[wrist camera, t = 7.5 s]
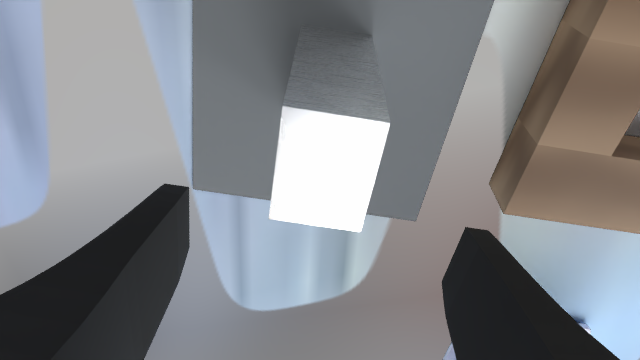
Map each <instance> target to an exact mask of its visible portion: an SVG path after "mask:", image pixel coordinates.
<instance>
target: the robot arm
mask: <svg viewBox="0 0 640 360" xmlns="http://www.w3.org/2000/svg"><path fill="white" fill-rule="evenodd" d="M188 250H189V187H184V186H177V185H170V184H164V185H162V186H161V187H159V188H158V189H157V190H156V191H154V192H153V193H152V194H151V195H150V196H148V197H147V198H146V199H145V200H144V201H142V202H141V203H140V204H139V205H138V206H136V207H135V208H134V209H133V210H132V211H130V212H129V213H128V214H126V215H125V216H124V217H122V218H121V219H120V220H119V221H117V222H116V223H115V224H113V225H112V226H111V227H109V228H108V229H107V230H106V231H104V232H103V233H102V234H100V235H99V236H97V237H96V238H95V239H93V240H92V241H90V242H89V243H87V244H86V245H84V246H83V247H82V248H80V249H79V250H77V251H76V252H75V253H73V254H71V255H70V256H69V257H67V258H65V259H64V260H62V261H61V262H59V263H57V264H56V265H54V266H53V267H51V268H49V269H48V270H46V271H44V272H42V273H41V274H39V275H37V276H35V277H34V278H32V279H30V280H28V281H26V282H25V283H23V284H21V285H19V286H17V287H15V288H13V289H11V290H9V291H7V292H5V293H3V294H1V295H0V360H144V358H145V356H146V354H147V351H148V349H149V347H150V345H151V343H152V340H153V338H154V336H155V334H156V331H157V329H158V327H159V325H160V322H161V320H162V318H163V316H164V314H165V311H166V309H167V307H168V305H169V303H170V300H171V298H172V296H173V294H174V291H175V289H176V287H177V285H178V282H179V279H180V276H181V273H182V270H183V267H184V263H185V260H186V257H187V253H188ZM442 289H443V299H444V307H445V314H446V319H447V324H448V328H449V332H450V337H451V341H452V342H451V344H450V346H449V348H448V350H447V352H446V354H445V356H444V358H443V360H620V359H619V358H617V357H616V356H615V355H614V354H613V353H611V352H610V351H609V350H608V349H607V348H606V347H604V346H603V345H602V344H601V343H600V342H598V341H597V340H596V339H595V338H594V337H593V336H591V335H590V333H591V330H590V328H589V326H588V325H586V324H582V323H577V322H576V321H575V320H574V319H573V318H572V317H571V316H570V315H569V314H568V313H567V312H566V311H565V310H564V309H563V308H562V307H561V306H560V305H559V304H558V303H557V302H556V301H555V300H554V299H553V298H552V297H551V296H550V295H549V294H548V293H547V292H546V291H545V290H544V289H543V288H542V287H541V286H540V285H539V284H538V283H537V282H536V281H535V280H534V279H533V278H532V277H531V276H530V274H529V273H528V272H527V271H526V270H525V269H524V268H523V267H522V266H521V265H520V264H519V263H518V261H517V260H516V259H515V258H514V257H513V256H512V255H511V254H510V253H509V252H508V251H507V249H506V248H505V247H504V246H503V245H502V244H501V243H500V242H499V241H498V240H497V239H496V238H495V237H494V236H493V235H492V234H491V233H490V232H489V231H487V230H481V229H474V228H468V227H467V228H466V227H465V230H464V232H463V234H462V237H461V239H460V241H459V243H458V246H457V248H456V250H455V253H454V255H453V257H452V259H451V262H450V264H449V266H448V269H447V271H446V273H445V276H444V278H443V280H442Z"/></svg>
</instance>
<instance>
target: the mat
mask: <svg viewBox="0 0 640 360" xmlns="http://www.w3.org/2000/svg"><path fill="white" fill-rule="evenodd" d="M493 2H494V0H193V189H195V190H202V191H209V192H216V193H223V194H230V195H237V196H244V197H251V198H258V199H265V200H271V196H272V188H273V180H274V172H275V164H276V155H277V147H278V139H279V131H280V123H281V114H282V106H283V102H284V98H285V93H286V89H287V85H288V81H289V77H290V72H291V68H292V64H293V60H294V55H295V51H296V47H297V43H298V39H299V34H300V30H301V26H302V24H304V25H310V26H316V27H321V28H327V29H333V30H339V31H345V32H351V33H357V34H363V35H368V36H373V41H374V46H375V51H376V55H377V60H378V65H379V70H380V75H381V80H382V84H383V89H384V94H385V99H386V104H387V108H388V113H389V118H390V123H391V124H390V127H389V131H388V134H387V138H386V142H385V145H384V149H383V153H382V156H381V160H380V164H379V167H378V171H377V175H376V178H375V182H374V185H373V189H372V193H371V196H370V200H369V204H368V207H367V211H366V214H369V215H376V216H382V217H389V218H397V219H403V220H411V221H416V219H417V216H418V214H419V211H420V208H421V205H422V202H423V200H424V197H425V194H426V191H427V188H428V185H429V183H430V180H431V177H432V174H433V171H434V169H435V166H436V163H437V160H438V157H439V154H440V152H441V149H442V146H443V143H444V140H445V138H446V135H447V132H448V129H449V126H450V123H451V121H452V118H453V115H454V112H455V109H456V107H457V104H458V101H459V98H460V95H461V92H462V90H463V87H464V84H465V81H466V78H467V76H468V73H469V70H470V67H471V64H472V61H473V59H474V56H475V53H476V50H477V47H478V45H479V42H480V39H481V36H482V33H483V31H484V28H485V25H486V22H487V19H488V17H489V14H490V11H491V8H492V5H493Z"/></svg>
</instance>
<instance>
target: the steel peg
mask: <svg viewBox="0 0 640 360" xmlns="http://www.w3.org/2000/svg"><path fill="white" fill-rule="evenodd" d="M390 124H391V123H390V118H389V113H388V108H387V104H386V99H385V94H384V89H383V84H382V80H381V75H380V70H379V65H378V60H377V55H376V51H375V46H374V41H373V36H368V35H363V34H357V33H351V32H345V31H339V30H333V29H327V28H321V27H316V26H310V25H304V24H302V26H301V30H300V34H299V39H298V43H297V47H296V51H295V55H294V60H293V64H292V68H291V72H290V77H289V81H288V85H287V89H286V93H285V98H284V102H283V106H282V114H281V123H280V131H279V139H278V147H277V155H276V164H275V172H274V180H273V188H272V196H271V205H270V213H269V219H272V220H279V221H286V222H293V223H300V224H307V225H314V226H321V227H328V228H335V229H341V230H348V231H355V232H361V229H362V226H363V222H364V218H365V215H366V211H367V207H368V204H369V200H370V196H371V193H372V189H373V185H374V182H375V178H376V175H377V171H378V167H379V164H380V160H381V156H382V153H383V149H384V145H385V142H386V138H387V134H388V131H389V127H390Z"/></svg>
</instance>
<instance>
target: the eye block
mask: <svg viewBox="0 0 640 360" xmlns="http://www.w3.org/2000/svg"><path fill="white" fill-rule="evenodd" d="M639 109H640V0H570V2H569V4H568V7H567V9H566V11H565V13H564V16H563V18H562V20H561V22H560V25H559V27H558V29H557V31H556V34H555V36H554V38H553V40H552V43H551V45H550V47H549V49H548V52H547V54H546V56H545V58H544V60H543V63H542V65H541V67H540V69H539V72H538V74H537V76H536V78H535V81H534V83H533V85H532V87H531V90H530V92H529V94H528V96H527V99H526V101H525V103H524V105H523V108H522V110H521V112H520V114H519V117H518V119H517V121H516V123H515V126H514V128H513V130H512V132H511V135H510V137H509V139H508V141H507V144H506V146H505V148H504V150H503V153H502V155H501V157H500V159H499V162H498V164H497V166H496V168H495V171H494V173H493V175H492V177H491V180H490V182H489V185H490V187H491V189H492V191H493V193H494V195H495V197H496V199H497V201H498V203H499V205H500V208H501V210H502V212H503V214H508V215H515V216H522V217H528V218H535V219H542V220H549V221H556V222H562V223H569V224H576V225H583V226H590V227H596V228H603V229H610V230H617V231H624V232H631V233H637V234H640V137H635V136H628V135H624V134H625V132H626V131H627V129H628V127H629V126H630V124H631V122H632V121H633V119H634V118H635V116H636V114H637V113H638V111H639Z"/></svg>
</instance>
